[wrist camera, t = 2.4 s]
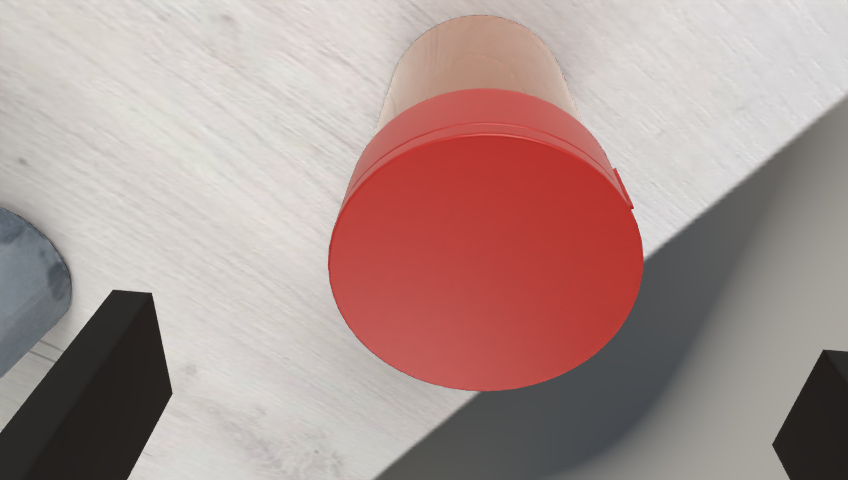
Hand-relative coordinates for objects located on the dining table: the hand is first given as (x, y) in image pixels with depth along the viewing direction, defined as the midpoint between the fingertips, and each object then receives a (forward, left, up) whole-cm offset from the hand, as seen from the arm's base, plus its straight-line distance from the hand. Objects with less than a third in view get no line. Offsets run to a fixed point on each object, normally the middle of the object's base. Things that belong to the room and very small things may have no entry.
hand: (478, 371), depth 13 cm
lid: (0, 0, -4) cm, 4 cm away
